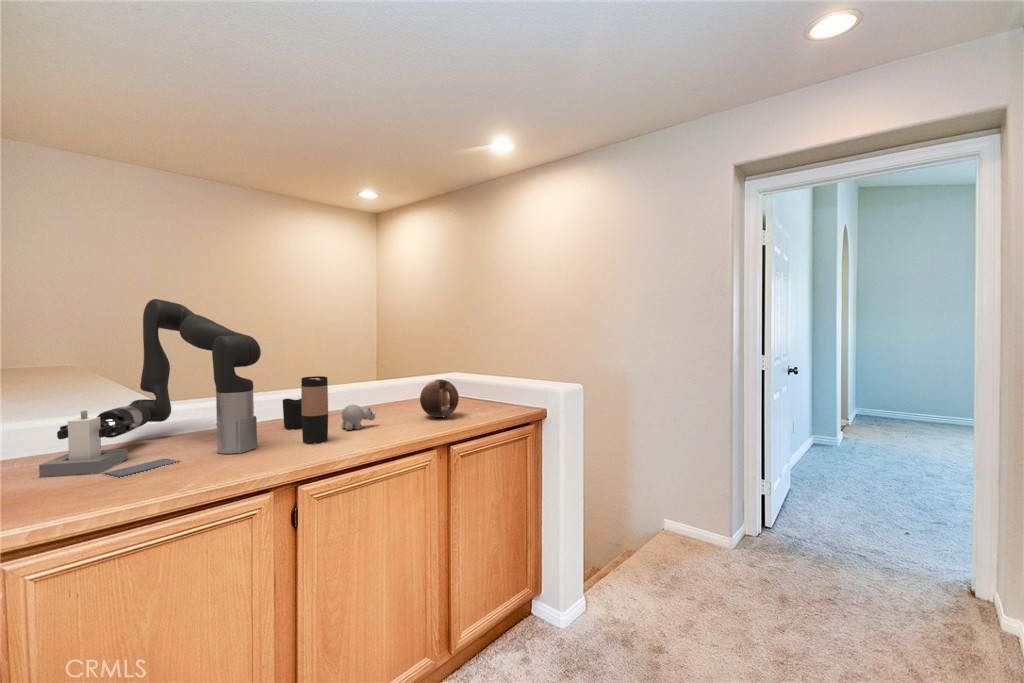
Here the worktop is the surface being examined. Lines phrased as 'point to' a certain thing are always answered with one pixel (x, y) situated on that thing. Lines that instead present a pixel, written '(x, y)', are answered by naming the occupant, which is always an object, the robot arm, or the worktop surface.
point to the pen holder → (292, 413)
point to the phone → (140, 468)
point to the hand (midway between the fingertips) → (80, 434)
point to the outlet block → (82, 464)
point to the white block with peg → (84, 437)
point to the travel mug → (314, 409)
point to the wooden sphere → (439, 398)
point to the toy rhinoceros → (356, 416)
